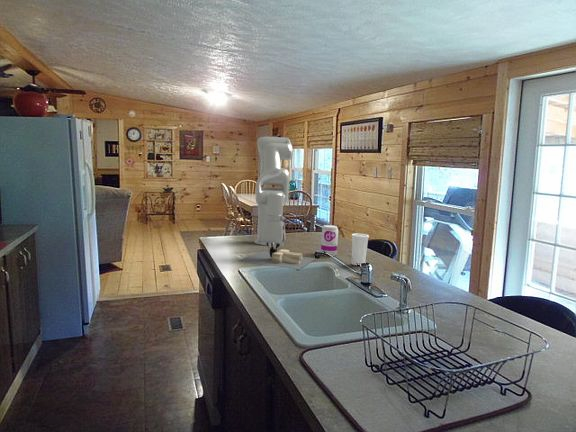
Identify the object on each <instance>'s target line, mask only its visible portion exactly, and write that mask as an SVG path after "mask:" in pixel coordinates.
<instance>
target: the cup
mask: <svg viewBox="0 0 576 432" xmlns="http://www.w3.org/2000/svg"><path fill="white" fill-rule="evenodd" d="M369 238H370V236H369V234H365V233H351V265H353V266H357V264H356V262H355V260H356V261H357V262H358V263H360V264H361V263H365V264H366V258H367V252H368V251H367V250H368V243H369Z"/></svg>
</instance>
